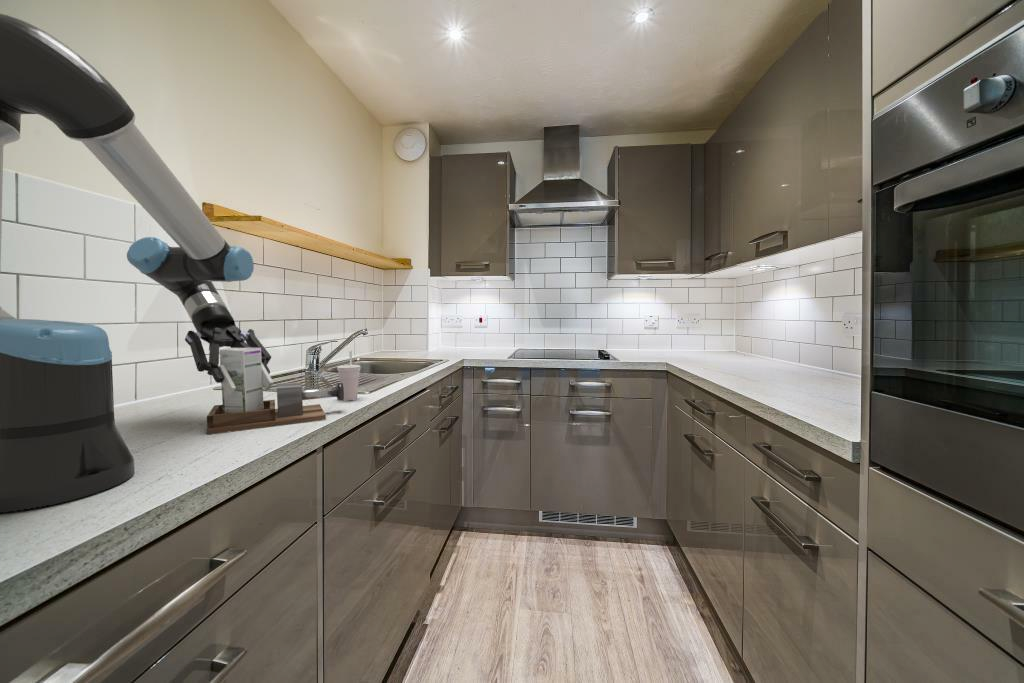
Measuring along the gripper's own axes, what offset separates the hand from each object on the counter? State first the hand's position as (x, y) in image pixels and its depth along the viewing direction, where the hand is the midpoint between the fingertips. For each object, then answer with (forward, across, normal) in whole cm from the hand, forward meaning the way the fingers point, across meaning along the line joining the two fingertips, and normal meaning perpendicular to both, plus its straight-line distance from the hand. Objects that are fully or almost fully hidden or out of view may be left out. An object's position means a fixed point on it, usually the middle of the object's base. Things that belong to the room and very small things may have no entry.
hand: (251, 388), depth 87 cm
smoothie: (+3, -28, -8) cm, 30 cm away
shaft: (+6, -12, -1) cm, 14 cm away
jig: (+5, -4, -6) cm, 9 cm away
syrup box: (+2, 0, -6) cm, 7 cm away
